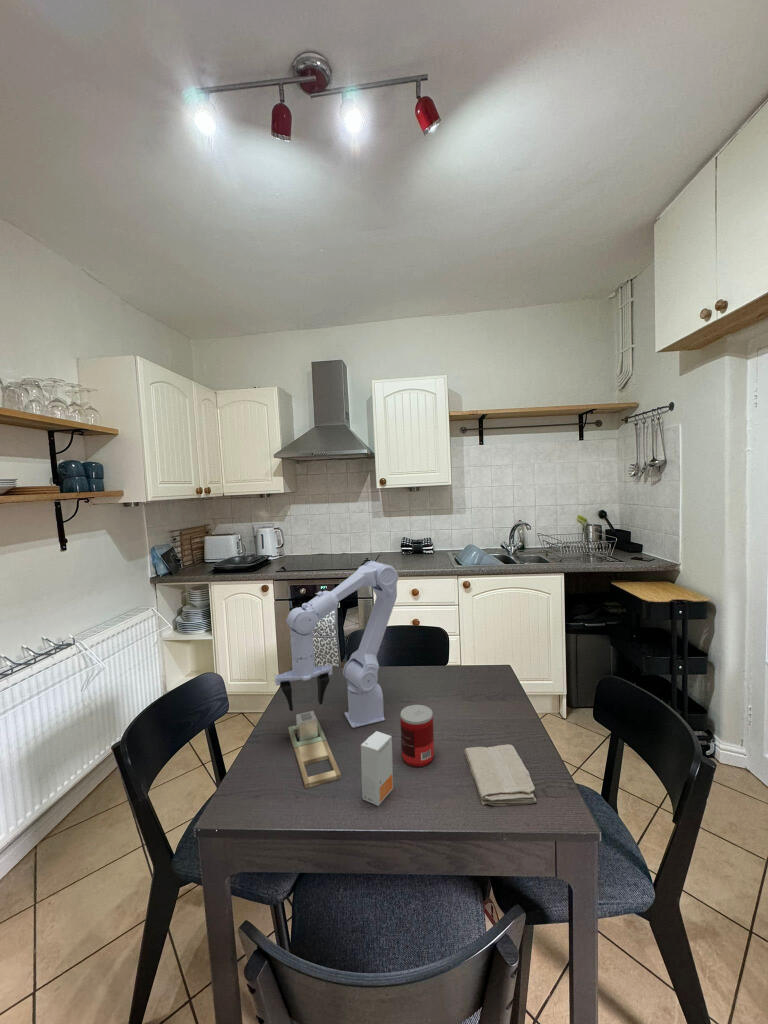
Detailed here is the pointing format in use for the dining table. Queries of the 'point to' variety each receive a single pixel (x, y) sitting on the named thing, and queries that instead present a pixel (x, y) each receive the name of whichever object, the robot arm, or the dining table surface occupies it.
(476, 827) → the dining table surface
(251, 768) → the dining table surface
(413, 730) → the canned food
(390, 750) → the skincare box
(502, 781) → the washcloth
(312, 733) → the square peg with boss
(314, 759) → the wooden peg board
